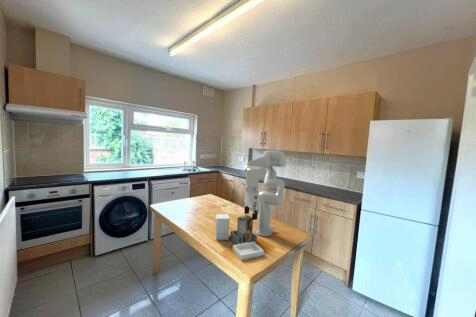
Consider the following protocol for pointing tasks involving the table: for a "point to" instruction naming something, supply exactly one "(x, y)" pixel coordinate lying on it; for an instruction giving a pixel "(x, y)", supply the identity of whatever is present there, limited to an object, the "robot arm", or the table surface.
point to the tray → (248, 250)
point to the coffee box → (244, 229)
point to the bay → (236, 240)
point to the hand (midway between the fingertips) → (250, 216)
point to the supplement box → (222, 227)
